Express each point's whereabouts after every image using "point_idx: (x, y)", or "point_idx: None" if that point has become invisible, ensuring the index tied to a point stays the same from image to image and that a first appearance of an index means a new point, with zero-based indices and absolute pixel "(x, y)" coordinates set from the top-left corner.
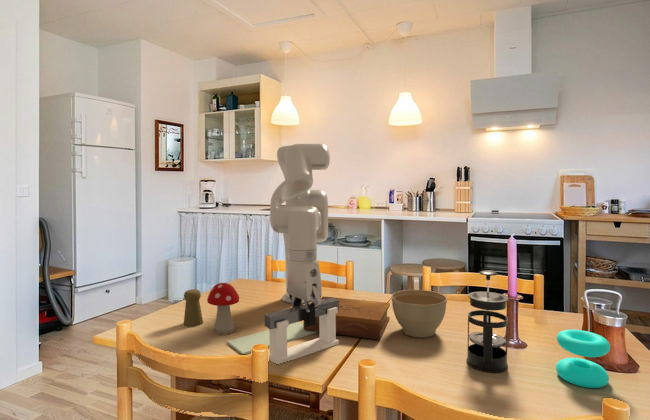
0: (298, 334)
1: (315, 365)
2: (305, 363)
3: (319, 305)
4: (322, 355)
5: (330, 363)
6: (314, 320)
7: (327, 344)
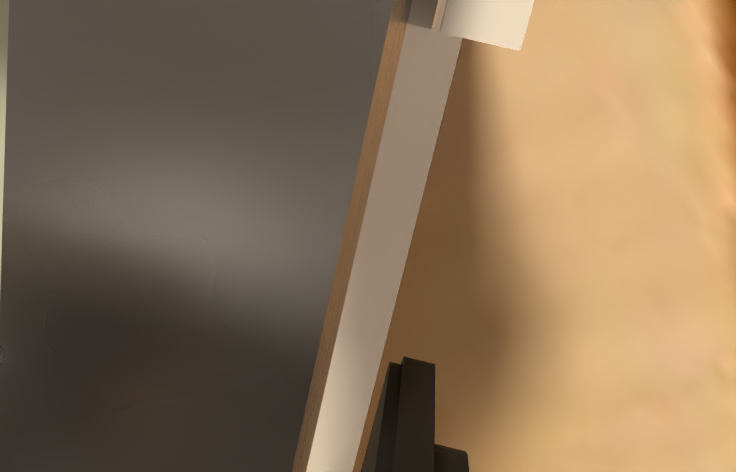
0: (2, 22)
1: (585, 397)
2: (491, 414)
3: (333, 293)
4: (520, 221)
5: (680, 303)
6: (466, 461)
7: (457, 55)
